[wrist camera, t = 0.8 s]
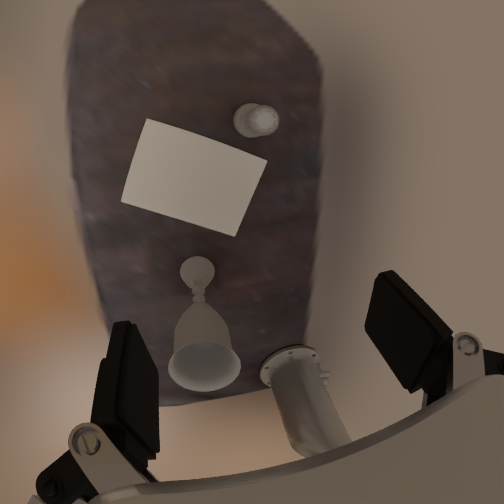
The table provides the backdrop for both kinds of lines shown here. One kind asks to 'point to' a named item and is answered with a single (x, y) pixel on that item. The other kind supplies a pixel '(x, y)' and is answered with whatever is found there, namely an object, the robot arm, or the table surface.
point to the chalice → (202, 337)
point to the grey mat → (191, 177)
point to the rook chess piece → (255, 120)
